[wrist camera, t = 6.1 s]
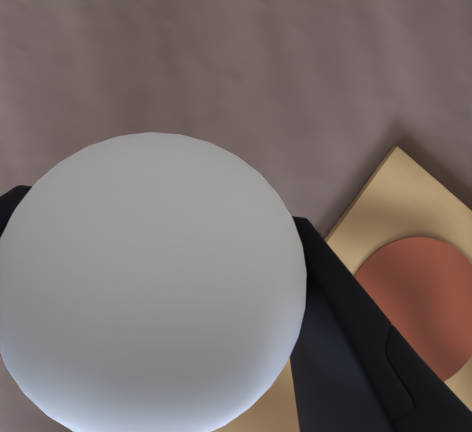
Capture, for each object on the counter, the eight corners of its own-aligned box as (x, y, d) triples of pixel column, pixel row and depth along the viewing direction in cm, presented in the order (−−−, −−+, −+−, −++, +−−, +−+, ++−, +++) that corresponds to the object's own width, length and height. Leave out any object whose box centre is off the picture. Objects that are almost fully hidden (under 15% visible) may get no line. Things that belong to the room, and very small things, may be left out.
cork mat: (369, 583, 21) (375, 594, 20) (167, 453, 19) (166, 461, 18) (562, 294, 22) (572, 296, 21) (392, 146, 20) (398, 144, 20)
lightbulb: (136, 342, 16) (35, 646, 5) (69, 212, 15) (-217, 212, 4) (264, 276, 16) (431, 404, 5) (204, 150, 16) (255, 16, 5)
